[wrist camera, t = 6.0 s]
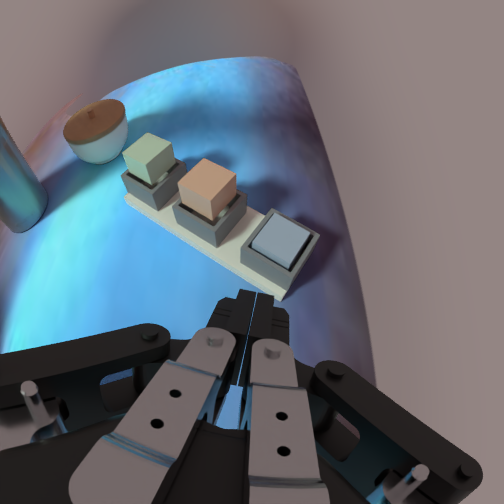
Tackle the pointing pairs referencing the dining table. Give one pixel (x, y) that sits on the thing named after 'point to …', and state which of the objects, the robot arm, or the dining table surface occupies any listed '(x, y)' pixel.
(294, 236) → the slate key
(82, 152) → the lidded jar
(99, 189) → the dining table surface
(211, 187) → the terracotta key
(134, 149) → the sage key
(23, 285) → the dining table surface
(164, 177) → the keypad board
